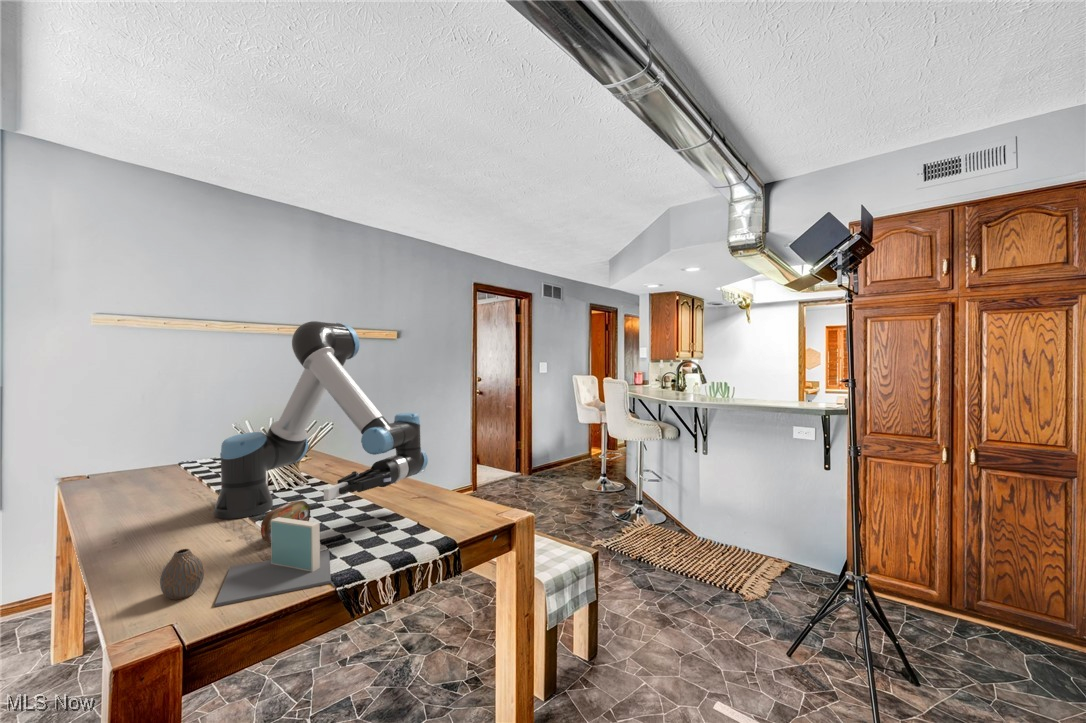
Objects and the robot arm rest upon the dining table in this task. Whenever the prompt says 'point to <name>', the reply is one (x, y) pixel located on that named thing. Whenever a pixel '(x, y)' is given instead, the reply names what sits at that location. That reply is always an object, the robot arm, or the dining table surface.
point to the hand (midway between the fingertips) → (326, 494)
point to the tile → (295, 544)
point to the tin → (285, 516)
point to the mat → (270, 580)
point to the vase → (182, 575)
